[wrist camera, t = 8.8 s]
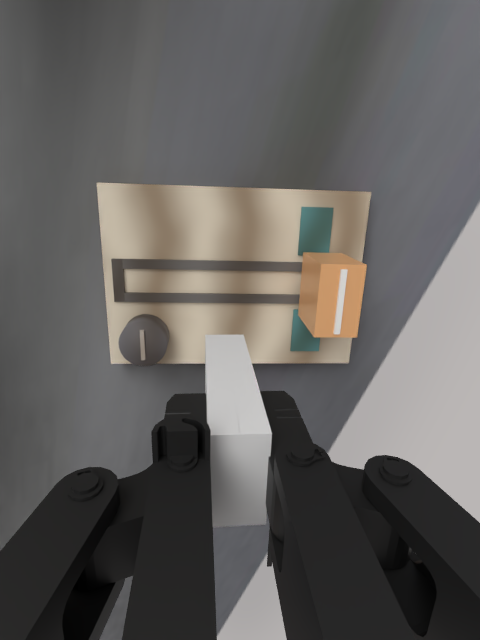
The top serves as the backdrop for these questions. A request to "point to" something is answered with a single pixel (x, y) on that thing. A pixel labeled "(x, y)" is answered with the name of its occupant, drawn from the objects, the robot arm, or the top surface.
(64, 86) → the top surface
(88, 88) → the top surface
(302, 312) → the fader knob
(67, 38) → the top surface
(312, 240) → the console
